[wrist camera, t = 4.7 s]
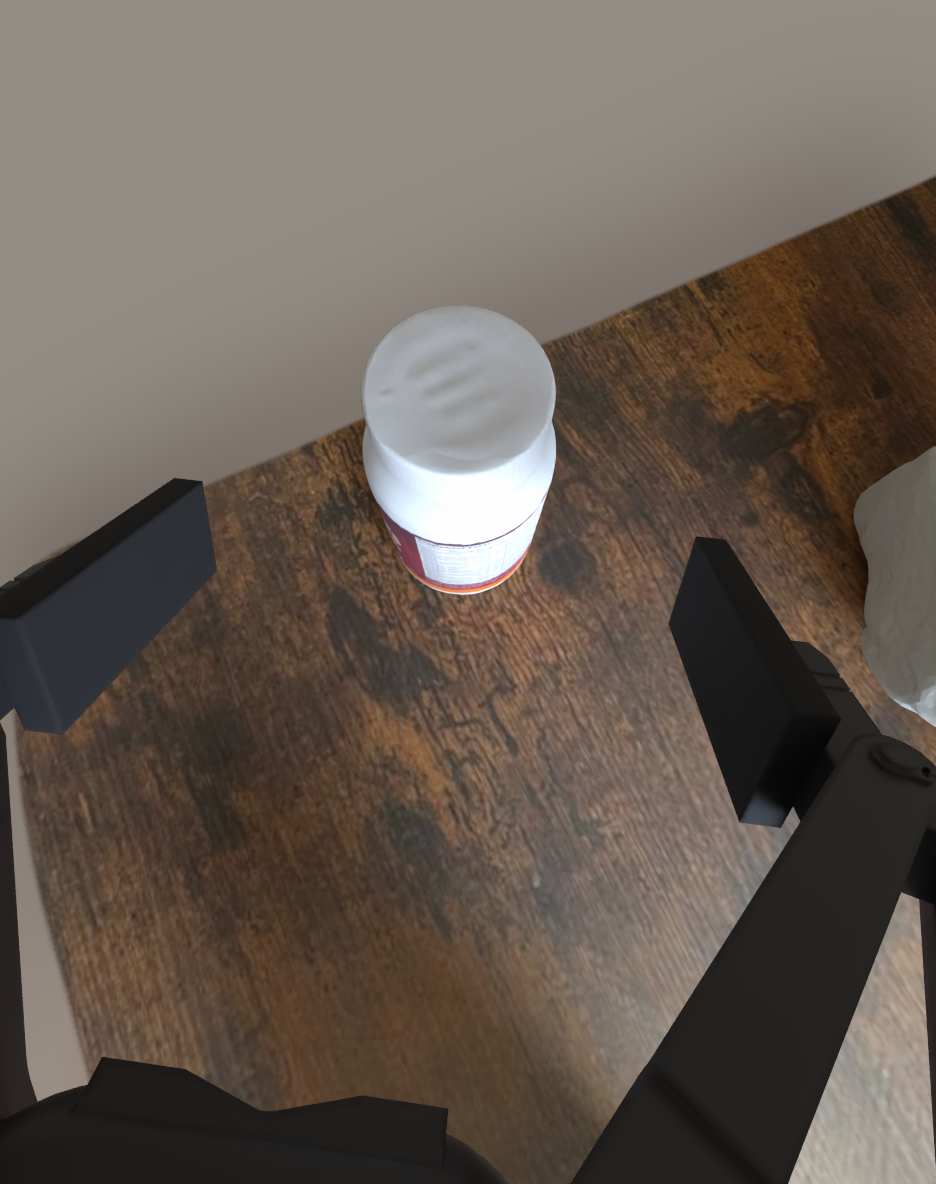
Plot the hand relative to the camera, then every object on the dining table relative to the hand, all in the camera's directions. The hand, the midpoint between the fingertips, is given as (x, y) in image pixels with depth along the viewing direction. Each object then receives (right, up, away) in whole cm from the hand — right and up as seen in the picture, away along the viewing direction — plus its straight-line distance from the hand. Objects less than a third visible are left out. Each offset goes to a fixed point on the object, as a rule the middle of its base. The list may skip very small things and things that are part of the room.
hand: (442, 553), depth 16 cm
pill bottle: (0, +2, +10) cm, 11 cm away
